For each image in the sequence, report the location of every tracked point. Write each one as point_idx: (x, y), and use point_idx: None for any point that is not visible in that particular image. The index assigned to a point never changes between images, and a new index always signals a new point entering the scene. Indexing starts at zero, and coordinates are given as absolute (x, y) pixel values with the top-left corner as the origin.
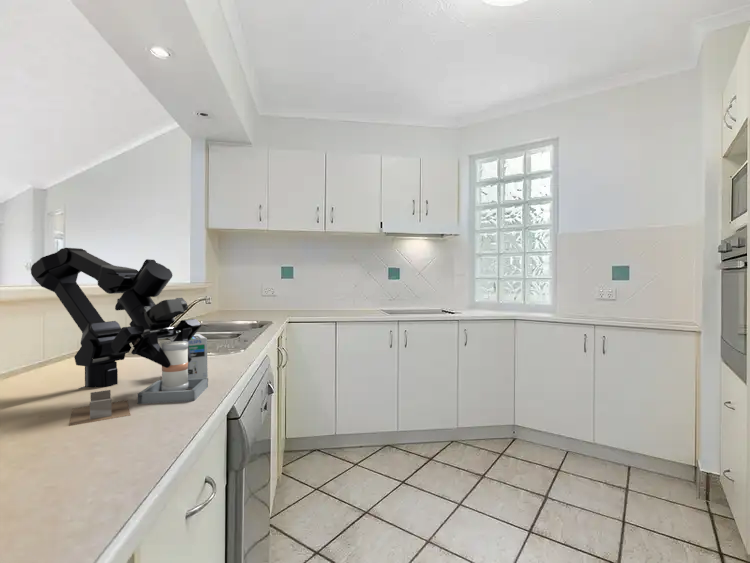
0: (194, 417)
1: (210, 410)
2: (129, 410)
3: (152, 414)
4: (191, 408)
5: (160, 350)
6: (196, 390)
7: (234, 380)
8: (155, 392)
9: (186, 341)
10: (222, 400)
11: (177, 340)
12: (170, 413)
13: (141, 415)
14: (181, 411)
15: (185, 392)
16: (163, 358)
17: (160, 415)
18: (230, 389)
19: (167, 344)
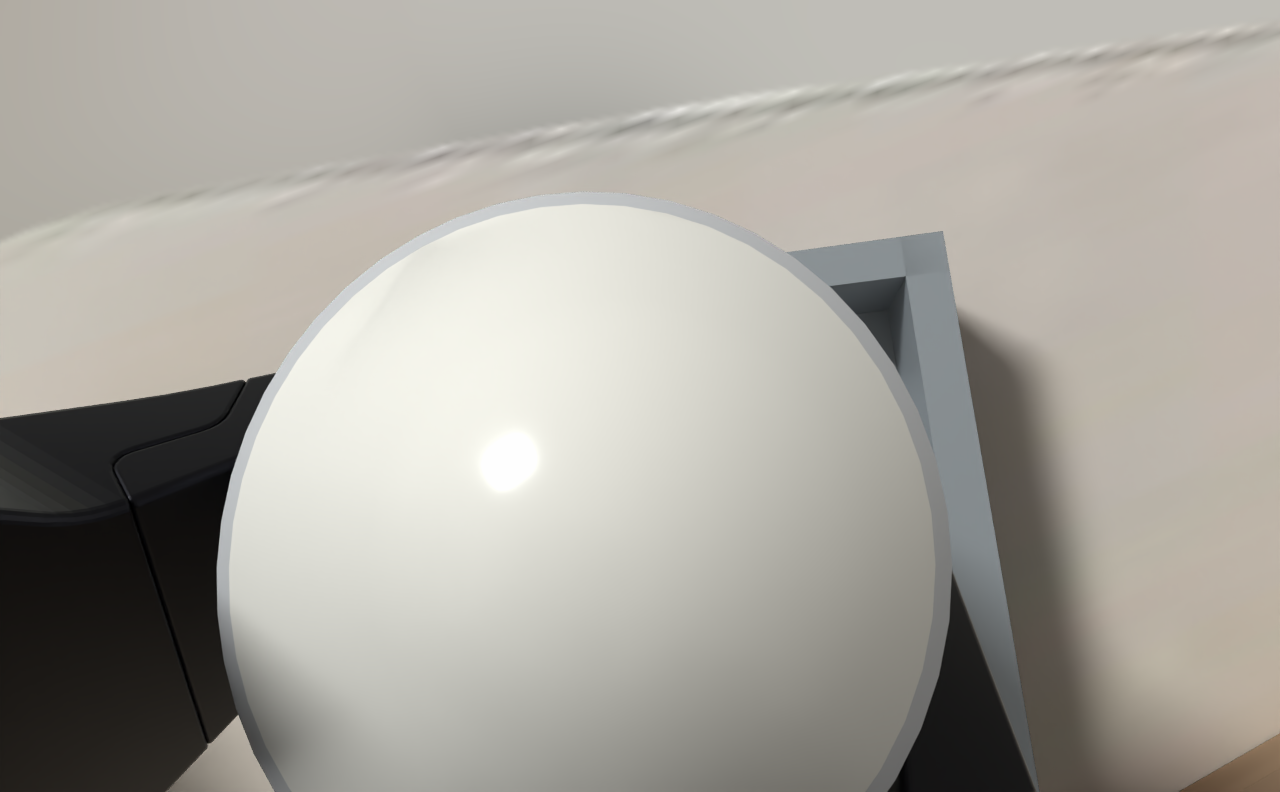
0: (1239, 152)
1: (1048, 99)
2: (1253, 783)
3: (1170, 555)
4: (991, 276)
5: (969, 790)
6: (855, 249)
7: (157, 233)
8: (997, 642)
9: (308, 327)
10: (770, 109)
11: (36, 694)
12: (1136, 400)
13: (1203, 649)
14: (1077, 327)
15: (952, 320)
16: (971, 645)
17: (1196, 466)
18: (445, 163)
19: (828, 669)
